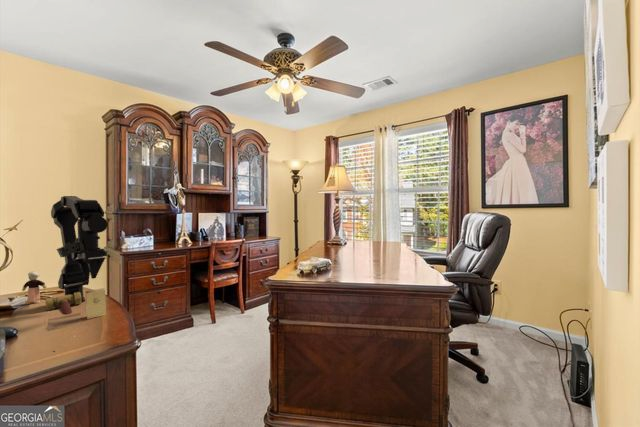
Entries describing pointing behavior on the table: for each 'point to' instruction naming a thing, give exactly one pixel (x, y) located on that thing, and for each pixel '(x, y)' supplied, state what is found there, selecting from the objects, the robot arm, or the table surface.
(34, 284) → the grandmother figurine
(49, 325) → the tan flat block
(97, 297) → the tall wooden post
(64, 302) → the gavel
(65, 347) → the table surface
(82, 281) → the robot arm
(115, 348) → the table surface
